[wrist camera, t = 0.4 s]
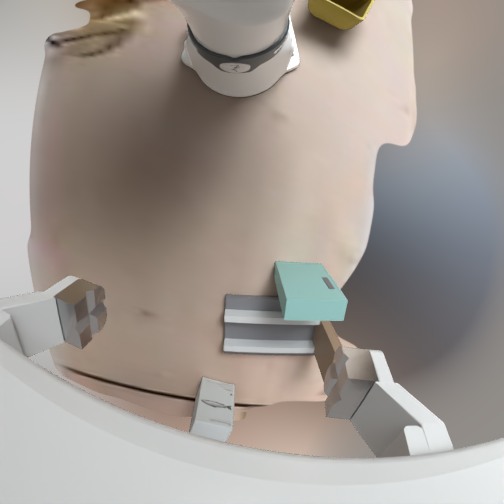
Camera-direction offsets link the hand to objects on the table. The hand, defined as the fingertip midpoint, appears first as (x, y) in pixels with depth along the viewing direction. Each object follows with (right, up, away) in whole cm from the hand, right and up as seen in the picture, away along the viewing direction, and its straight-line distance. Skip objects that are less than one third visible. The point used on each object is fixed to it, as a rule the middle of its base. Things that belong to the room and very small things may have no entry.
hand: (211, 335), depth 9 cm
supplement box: (-7, -27, +48) cm, 55 cm away
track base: (+5, -11, +43) cm, 44 cm away
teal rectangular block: (+9, 0, +39) cm, 41 cm away
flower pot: (+15, +44, +26) cm, 53 cm away
